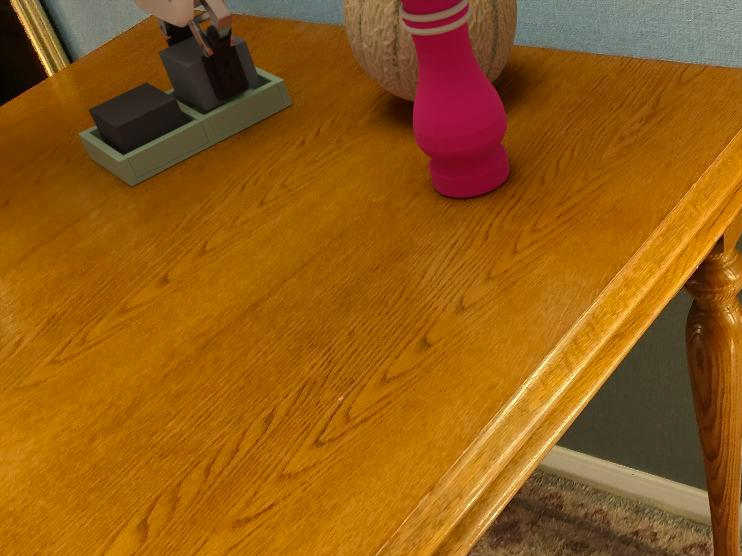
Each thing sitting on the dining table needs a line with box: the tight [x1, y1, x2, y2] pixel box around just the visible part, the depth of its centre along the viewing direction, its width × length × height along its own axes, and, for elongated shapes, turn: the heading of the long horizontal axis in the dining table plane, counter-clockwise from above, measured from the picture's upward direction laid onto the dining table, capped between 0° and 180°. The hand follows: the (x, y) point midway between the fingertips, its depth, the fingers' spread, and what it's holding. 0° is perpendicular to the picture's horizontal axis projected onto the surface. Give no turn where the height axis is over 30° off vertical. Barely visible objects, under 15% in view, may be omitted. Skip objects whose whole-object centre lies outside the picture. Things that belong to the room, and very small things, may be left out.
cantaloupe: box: [342, 0, 518, 103], centre depth 85 cm, size 15×15×15 cm
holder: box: [77, 66, 293, 188], centre depth 93 cm, size 17×9×2 cm, turn 132°
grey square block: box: [158, 29, 261, 111], centre depth 92 cm, size 6×6×4 cm
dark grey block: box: [88, 82, 187, 156], centre depth 90 cm, size 6×6×4 cm
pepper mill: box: [399, 0, 511, 199], centre depth 73 cm, size 7×7×20 cm
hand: (215, 83), depth 93 cm, fingers closed on grey square block, 5 cm apart
